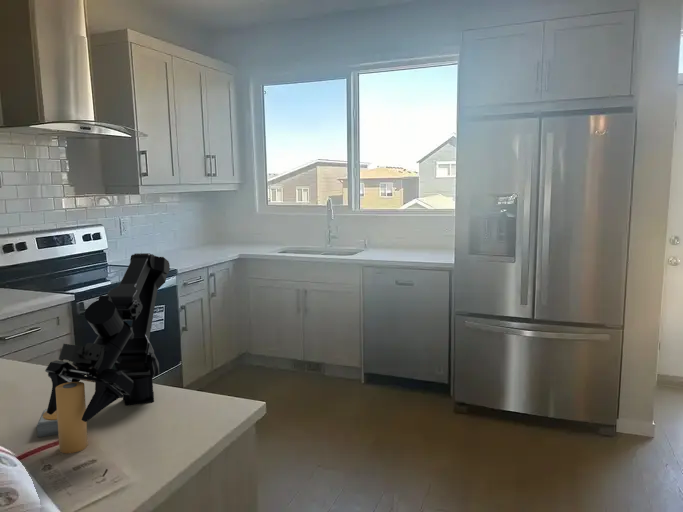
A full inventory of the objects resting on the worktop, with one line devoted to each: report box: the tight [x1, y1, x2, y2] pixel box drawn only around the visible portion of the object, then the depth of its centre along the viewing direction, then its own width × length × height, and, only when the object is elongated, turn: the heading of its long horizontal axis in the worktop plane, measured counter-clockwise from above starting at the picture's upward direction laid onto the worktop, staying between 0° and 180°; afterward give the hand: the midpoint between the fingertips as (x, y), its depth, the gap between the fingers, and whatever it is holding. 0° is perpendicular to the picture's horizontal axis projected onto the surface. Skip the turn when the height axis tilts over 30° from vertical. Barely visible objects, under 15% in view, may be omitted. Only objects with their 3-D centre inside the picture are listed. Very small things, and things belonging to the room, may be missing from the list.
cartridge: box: [55, 381, 89, 454], centre depth 102 cm, size 5×5×13 cm
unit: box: [36, 408, 58, 438], centre depth 112 cm, size 8×8×3 cm
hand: (65, 417), depth 100 cm, fingers open, 9 cm apart
